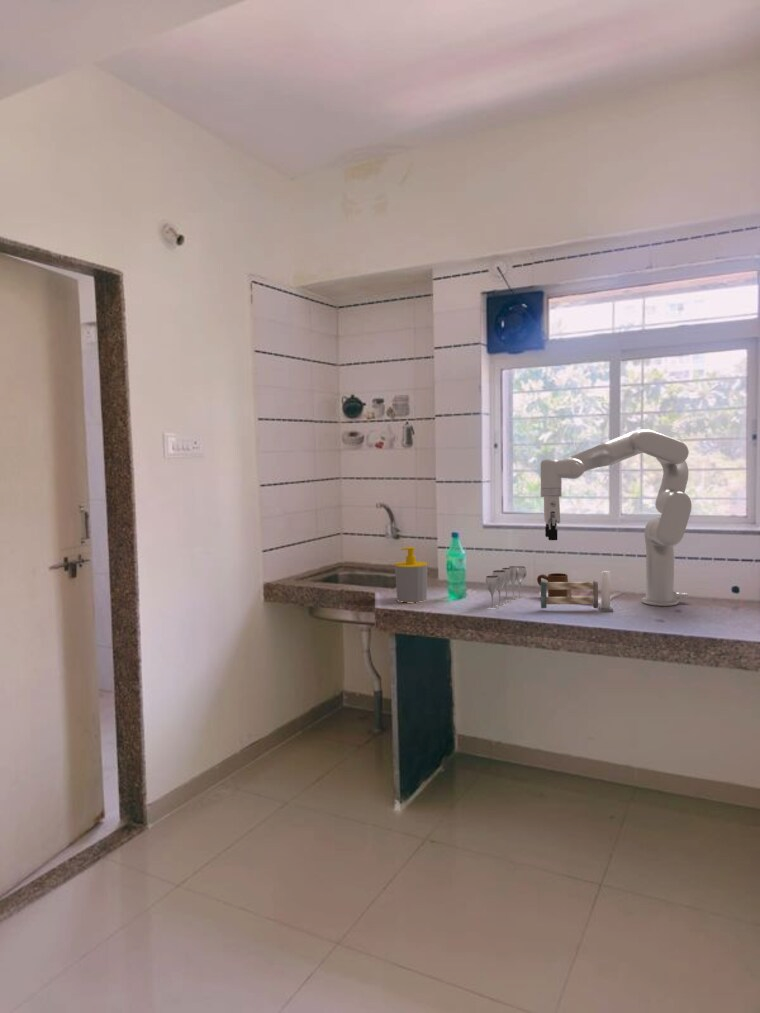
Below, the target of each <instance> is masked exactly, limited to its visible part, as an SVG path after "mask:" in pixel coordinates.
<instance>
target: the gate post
mask: <svg viewBox="0 0 760 1013" xmlns="http://www.w3.org/2000/svg"><path fill="white" fill-rule="evenodd" d="M600 574H601V575H600V580H601V581H600V582H601V583H600V584H601V585H600V586H601V587H600V592H601V593H600V594H601V598H600V599H601V600H600V602H601V605H598V610H599V609H600V610H599V612H601V613H613V612H614V609H613V607H612V606H611V571H609V570H601V572H600Z"/></svg>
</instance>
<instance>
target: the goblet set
mask: <svg viewBox="0 0 760 1013" xmlns="http://www.w3.org/2000/svg"><path fill="white" fill-rule="evenodd" d="M527 577H528V572H527V568H526V566H523V565H522V566H520V565H518V566H516V565H515V566H514V565H511V566H508V567H502V568H501V570H500V569H497V570H493V571H492V575H487V576H485V586H486V588H487V590H488V592H489V593H490V596H491V597H490V598H491V606H488V607H489V608H497V606H494V595H495V593H496V591H498V601H499V602H498V603H495V605H498V606H503V605H504V604H506V603H508V604H512V603H511V602H512V601H511V600H517V599H523V598H522V597H525V598H526V595H521V585H522V583H523V581H524V580H525V579H526V578H527ZM516 582H517V584H518V590H519V595H515V592H514V591H515V590H514V589H515V583H516ZM510 583H511V585H512V586H511V587H512V598H509V599H510V600H508V588H509V585H510ZM503 587H504V588H505V601H503V600H502V602H503V603H501V592H502V590H503ZM514 596H515V597H519V598H515V597H514ZM517 601H518V600H517ZM503 607H504V606H503Z"/></svg>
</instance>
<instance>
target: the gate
mask: <svg viewBox="0 0 760 1013" xmlns="http://www.w3.org/2000/svg"><path fill="white" fill-rule="evenodd" d="M565 589H567V597H548V595H547V591H548V590H565ZM572 590H593V591H592V592H593V594H592V595H593V596H572ZM547 605H593V609H599V581H598V580H594V581H568V582H548V581H547V580H546V581H545V580H543V581H542V580H541V586H540V608H541V609H548V608H547Z"/></svg>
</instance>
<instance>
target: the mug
mask: <svg viewBox="0 0 760 1013" xmlns="http://www.w3.org/2000/svg"><path fill="white" fill-rule="evenodd" d="M543 579H544V580H546V581H547V582H569V578H568V574H567V573H563V572H562V573H561V572H560V573H559V572H557V573H548V575H546V574H539V575H538V576H537V578H536V580H537V584H538V585H539V586H540V587H541V581H542V580H543ZM547 597H567V589H565V590H547Z"/></svg>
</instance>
